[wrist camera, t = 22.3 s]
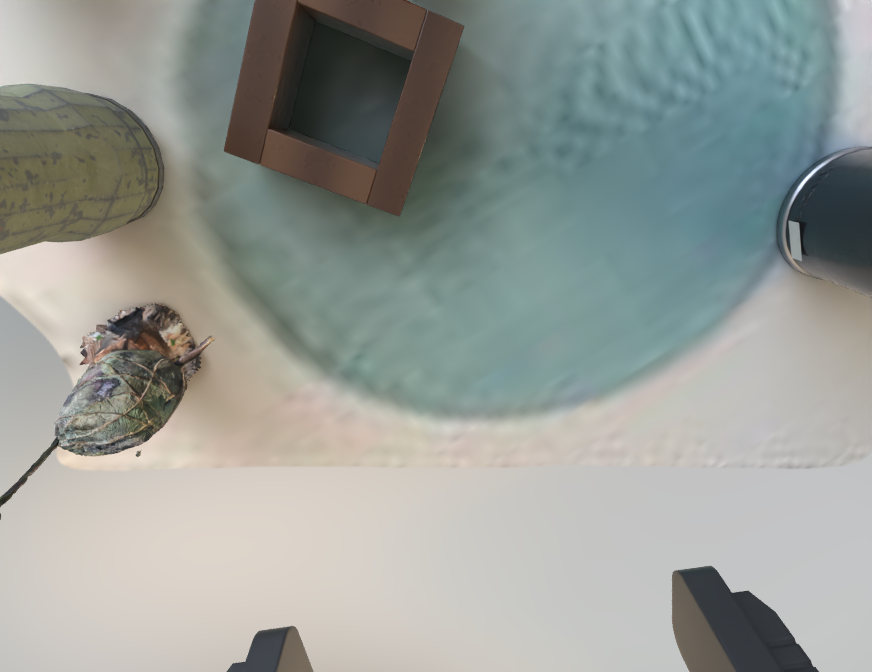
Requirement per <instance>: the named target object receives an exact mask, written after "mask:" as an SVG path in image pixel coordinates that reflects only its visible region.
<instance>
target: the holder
mask: <svg viewBox="0 0 872 672" xmlns="http://www.w3.org/2000/svg"><path fill="white" fill-rule="evenodd" d="M315 20H316V21H317V22H319V23H322V24H324V25H326V26H329V27H331V28H334V29H336V30H338V31H341V32H343V33H345V34H348V35H350V36H353V37H355V38H357V39H360V40H362V41H365V42H367V43H369V44H372V45H374V46H377V47H379V48H381V49H384V50H386V51H388V52H391V53H393V54H396V55H398V56H400V57H403V58H405V59H408V60H410V61H411V64H410V68H409V71H408V74H407V77H406V80H405V83H404V87H403V90H402V93H401V96H400V99H399V103H398V106H397V109H396V112H395V115H394V118H393V122H392V125H391V128H390V131H389V134H388V137H387V141H386V144H385V147H384V150H383V153H382V157H381V160H380V163H376V162H373V161H371V160H368V159H366V158H363V157H360V156H358V155H355V154H353V153H350V152H347V151H345V150H342V149H340V148H337V147H334V146H332V145H329V144H327V143H324V142H321V141H319V140H316V139H313V138H311V137H308V136H306V135H303V134H300V133H298V132H295V131H293V130H290V129H289V125H290V121H291V117H292V113H293V109H294V105H295V100H296V96H297V92H298V88H299V84H300V80H301V76H302V72H303V68H304V64H305V60H306V56H307V52H308V48H309V44H310V40H311V36H312V32H313V28H314V24H315ZM463 29H464V25H461V24H459V23H457V22H454V21H452V20H450V19H447V18H445V17H443V16H441V15H438V14H436V13H434V12H431V11H429V10H428V11H427V10H426V9H424V8H422V7H420V6H417V5H415V4H413V3H411V2H408V1H406V0H255V3H254V8H253V12H252V17H251V22H250V27H249V32H248V36H247V41H246V46H245V51H244V56H243V60H242V65H241V70H240V75H239V80H238V84H237V89H236V94H235V99H234V104H233V108H232V113H231V118H230V123H229V128H228V132H227V137H226V142H225V147H224V152H226V153H229V154H232V155H234V156H237V157H240V158H243V159H245V160H248V161H251V162H253V163H256V164H260V165H261V166H264V167H267V168H270V169H272V170H275V171H278V172H280V173H283V174H286V175H288V176H291V177H294V178H297V179H299V180H302V181H305V182H307V183H310V184H313V185H315V186H318V187H321V188H323V189H326V190H329V191H332V192H334V193H337V194H340V195H342V196H345V197H348V198H350V199H353V200H356V201H359V202H361V203H364V204H366V203H367V205H369V206H372V207H374V208H377V209H380V210H383V211H385V212H388V213H391V214H393V215H396V216H400V214H401V211H402V208H403V206H404V203H405V200H406V197H407V194H408V191H409V188H410V185H411V182H412V179H413V176H414V173H415V170H416V167H417V164H418V161H419V159H420V156H421V153H422V150H423V147H424V144H425V141H426V138H427V135H428V132H429V129H430V126H431V123H432V120H433V117H434V114H435V112H436V109H437V106H438V103H439V100H440V97H441V94H442V91H443V88H444V85H445V82H446V79H447V76H448V73H449V70H450V67H451V65H452V62H453V59H454V56H455V53H456V50H457V47H458V44H459V41H460V38H461V35H462V32H463Z"/></svg>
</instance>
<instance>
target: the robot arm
mask: <svg viewBox="0 0 872 672" xmlns="http://www.w3.org/2000/svg"><path fill="white" fill-rule="evenodd" d="M777 238H778V244H779V247H780V250H781V252H782V254H783V256H784V258H785V259H786V260H787V262H788V263H789V264H790V265H791V266H792V267H794V268H795V269H796V270H798V271H800V272H802V273H804V274H806V275H809V276H812V277H815V278H818V279H823V280H827V281H830V282H832V283H835V284H838V285H840V286H842V287H845V288H848V289H850V290H853V291H856V292H859V293H861V294H864V295H867V296H869V297H872V147H853V148H847V149H843V150H840V151H837V152H835V153H832V154H830V155H828V156H826V157H824V158H823V159H821V160H819V161H818V162H816V163H815V164H813V165H812V166H811V167H810V168H809V169H807V170H806V171H805V172H804V173H803V174H802V175H801V176H800V177H799V179H798V180H797V181H796V182H795V183H794V185H793V186H792V188H791V189H790V191H789V192H788V194H787V196H786V198H785V200H784V202H783V204H782V207H781V210H780V213H779V217H778V223H777ZM672 624H673V630H674V634H675V638H676V642H677V645H678V648H679V650H680V653H681V655H682V657H683V659H684V661H685V663H686V665H687V668H688V670H689V671H690V672H819V671H818V670H817V669H816V667H813V666H812V663H811V660H810V659H809V658H808V656H807V655H806V653H805V652H804V651H803V649H802V648H801V647H800V645H799V644H796V642H795V638H794V637H793V636H792V634H791V633H790V631H789V630H788V629H787V627H786V626H785V625H784V623H783V622H782V621H781V619H780V618H779V616H778V615H777V614H776V612H775V611H773V610H772V609H771V608H770V607H768V606H767V605H766V604H764V603H763V602H762V601H761V600H759V599H758V598H757V597H755V596H754V595H753V594H752V593H750V592H749V591H743V592H736V593H732V592H731V591H730V589H729V588H728V586H727V585H726V584H725V582H724V580H723V579H722V578H721V576H720V575H719V573H718V572H717V570H716V569H715V568H713V567H712V566H705V567H699V568H691V569H684V570H678V571H674V572H673V575H672ZM227 672H313V669H312V667H311V664H310V662H309V659H308V656H307V654H306V651H305V648H304V646H303V643H302V640H301V638H300V636H299V633H298V630H297V629H296V627H294V626H290V627H284V628H277V629H269V630H262V631H259V632H258V633H257V634H256V635H255V637H254V639H253V641H252V644H251V647H250V650H249V653H248V656H247V659H246V662H241V663H233V664H232V665H231V667H230V668H229V669H228V671H227Z"/></svg>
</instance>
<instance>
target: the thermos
mask: <svg viewBox="0 0 872 672" xmlns="http://www.w3.org/2000/svg"><path fill="white" fill-rule="evenodd" d="M163 175H164V167H163V163H162V159H161V155H160V151H159V147H158V145H157V144H156V142H155V140H154V138H153V137H152V135H151V133H150V131H149V129H148V128H147V127H146V126H145V125H144V124H143V123H142V122H141V121H140V120H139V118H138V117H137V116H136V115H135V114H134V113H133V112H132V111H130V110H129V109H127V108H125V107H124V106H122V105H120V104H119V103H117V102H115V101H114V100H112V99H109V98H105V97H101V96H97V95H93V94H88V93H82V92H78V91H74V90H70V89H66V88H60V87H52V86H44V85H36V84H21V85H7V86H2V87H0V254H2V253H6V252H9V251H13V250H16V249H20V248H23V247H27V246H30V245H34V244H37V243H41V242H44V241H48V242H69V241H82V240H85V239H88V238H91V237H94V236H98V235H101V234H104V233H107V232H110V231H112V230H114V229H116V228H119V227H121V226H123V225H125V224H128V223H130V222H132V221H135V220H137V219H139V218H141V217H144V216H145V215H146V214H147V213H148V212H149V211H150V210H151V209H152V208H153V207H154V206H155V204H156V203H157V200H158V198H159V195H160V193H161V191H162V188H163Z"/></svg>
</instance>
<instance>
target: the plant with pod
mask: <svg viewBox="0 0 872 672" xmlns="http://www.w3.org/2000/svg"><path fill="white" fill-rule="evenodd" d="M147 306H148V308H147V307H146V306H145V308H144V307H140V309H139V308H137V307H136V308H135V309H134V308H131V307H130V309H129V311H123V310H120V313H118V314H119V315H115V318H114V319H110V320H108V325H97V327H96V333H90V334H91V336H90V335H88V334H87V337H86V336H83V343H82V345H81V347H80V348H84V347H85V348H84V349H83V350H82V351H81V354H82V355H83V356H84V357H85V358H84V360H83V361H82V362H81V363H80V365H83V364H89V367H88V369H87V371H86V372H85V373H84V374H83V376H82V377H81V378H79V379H78V382H77V385H76V386H75V387H74V389H73V390H72V392H71V394H70V395H69V396H68V398H67V400H66V402H65V403H64V405H63V407H62V408H61V411H60V413H59V416H58V419H57V420H56V422H55V427H54V433H55V436H56V439H55V440H54V441H53V443H52V445H51V447H50V448H48V449H47V450H46V451H45V452H44V453H43V454H42V455H41V457H40V458H39V459H38V460H37V461H36V462H35V463H34V464H33V465H32V466H31V468H30V469H29V470H28V471H27V472H26V473H25V474H24V475H23V476H22V477H21V478H20V479H19V481H18V482H17V483H16V484H14V485H13V486H12V487H11V488H10V489H9V490H8V491H7V492H6V493H5V494H4V495H2V496H1V497H0V507H1V505H3V504H4V503H6V502H7V501H8V500H9V499H10V498H11V497H12V495H13V494H14V493H16V491H17V490H18V489H19V488H20V486H22V485H23V484H24V483H25V482H26V480H27V477H28V476H30V475H32V474H33V472H35V470H37V469H38V467H39V466H40V465H41V464H42V463H43V462H44V461H45V460H46V458H47V457H48V456H49V455H50V454H51V452H52V451H53V450H54V449H55V448H57V446H60V447H61V448H62V449H64V450H68V451H70V452H73V453H75V454H77V455H78V454H79V455H81V456H82V455H84V456H101V455H108V454H114V453H118V452H121V451H123V450H125V449H128V448H132V447H135V446H139V445H140V444H143V442H146V441H147V440H149V439H150V438H151V437H152V435H153V434H155V433H156V432H157V431H159V430H160V429H161V428H163V426H164V425H165V424H166V423H167V421H168V420H169V419H170V417H171V415H172V414H173V413H174V411H175V410H176V408H177V407H178V405H179V403H180V402H181V400H182V397H183V395H184V392H185V390H187V381H186V380H189V378H190V377H192V375H191V374H192V373H195V370H197V371H198V369H197V368H201V367H200V366H199V365H200V363H201V362H200V361H199V360H200V359H201V357H199V356H200V354H201V352H202V351H203V350H204V349H205V348H206V347H207V346H208V345H209V344H210V343H211V342H212V341H214V339H215V338H214V337H213V336H210V337H209V338H207V339H206V340H205V341H204V342H202V343H201V344H200V346H199V347H197V348H195V345H194V343H193V338H192V337H188V336H186V334H187V333H188V332H189V331H188V330H185V326H182V325H183V323H179V322H180V321H182V320H181V319H179V315H174V311H173V310H169V309H168V308H167V307H166V306H162V304H161V305H159V304H156V303H155V306H154V305H153V304H152V305H151V306H149V305H147ZM189 381H190V380H189ZM140 452H141V451H137V454H136V456H137V457H139V456H140ZM0 519H1V514H0Z"/></svg>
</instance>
